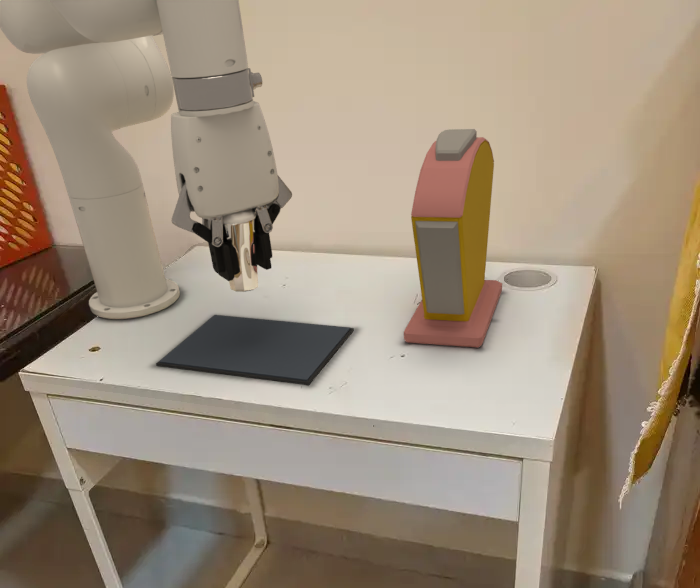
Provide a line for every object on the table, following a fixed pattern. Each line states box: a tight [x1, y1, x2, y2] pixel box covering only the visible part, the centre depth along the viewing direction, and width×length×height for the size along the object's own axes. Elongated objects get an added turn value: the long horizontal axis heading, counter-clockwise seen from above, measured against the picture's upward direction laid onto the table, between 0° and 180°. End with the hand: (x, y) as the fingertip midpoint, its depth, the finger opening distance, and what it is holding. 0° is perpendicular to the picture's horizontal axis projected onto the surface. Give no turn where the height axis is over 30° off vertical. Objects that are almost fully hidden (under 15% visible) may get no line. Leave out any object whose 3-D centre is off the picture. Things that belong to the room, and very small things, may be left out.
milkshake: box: [223, 206, 259, 293], centre depth 80 cm, size 5×5×10 cm
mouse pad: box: [155, 314, 355, 386], centre depth 88 cm, size 20×14×1 cm
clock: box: [403, 128, 503, 348], centre depth 84 cm, size 22×9×22 cm, turn 162°
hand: (244, 270), depth 82 cm, fingers closed on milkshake, 4 cm apart
